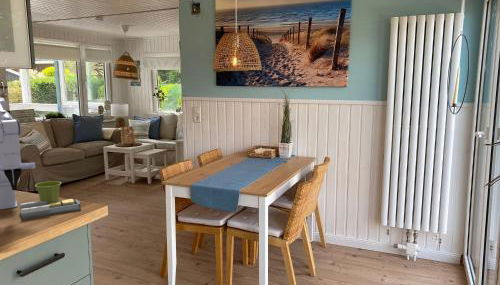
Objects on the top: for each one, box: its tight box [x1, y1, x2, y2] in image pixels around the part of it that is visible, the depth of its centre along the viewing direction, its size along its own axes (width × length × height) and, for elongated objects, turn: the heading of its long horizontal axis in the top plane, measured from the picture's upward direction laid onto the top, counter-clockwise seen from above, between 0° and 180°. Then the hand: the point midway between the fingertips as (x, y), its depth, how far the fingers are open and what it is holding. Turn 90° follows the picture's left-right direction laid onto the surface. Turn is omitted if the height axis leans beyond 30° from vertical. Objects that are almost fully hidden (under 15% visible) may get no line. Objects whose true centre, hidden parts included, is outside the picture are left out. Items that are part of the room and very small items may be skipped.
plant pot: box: [34, 180, 62, 204], centre depth 156 cm, size 9×9×9 cm
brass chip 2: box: [60, 198, 74, 206], centre depth 152 cm, size 4×4×2 cm
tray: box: [47, 198, 82, 215], centre depth 151 cm, size 8×11×2 cm
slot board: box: [19, 200, 51, 220], centre depth 146 cm, size 9×9×4 cm
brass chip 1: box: [48, 200, 61, 208], centre depth 149 cm, size 4×4×2 cm
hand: (14, 189), depth 142 cm, fingers closed
